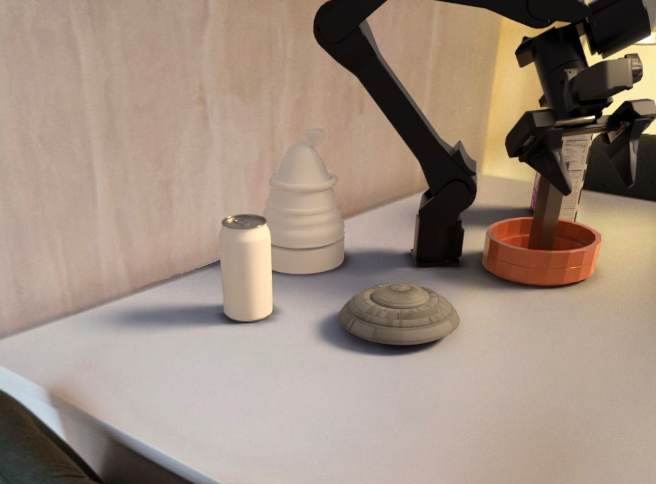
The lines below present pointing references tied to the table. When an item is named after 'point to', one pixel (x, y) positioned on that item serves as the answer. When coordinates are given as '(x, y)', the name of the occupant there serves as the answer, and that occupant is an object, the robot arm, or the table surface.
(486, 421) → the table surface
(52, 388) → the table surface
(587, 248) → the bowl
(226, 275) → the can
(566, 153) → the candy bar box
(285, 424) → the table surface
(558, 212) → the stick
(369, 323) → the flying saucer
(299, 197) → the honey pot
